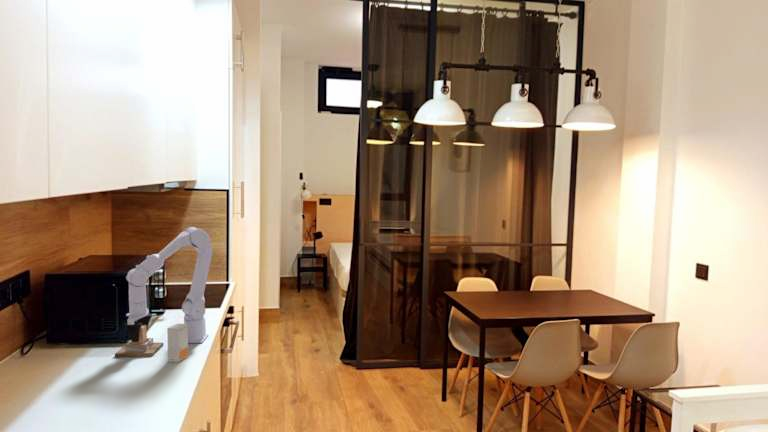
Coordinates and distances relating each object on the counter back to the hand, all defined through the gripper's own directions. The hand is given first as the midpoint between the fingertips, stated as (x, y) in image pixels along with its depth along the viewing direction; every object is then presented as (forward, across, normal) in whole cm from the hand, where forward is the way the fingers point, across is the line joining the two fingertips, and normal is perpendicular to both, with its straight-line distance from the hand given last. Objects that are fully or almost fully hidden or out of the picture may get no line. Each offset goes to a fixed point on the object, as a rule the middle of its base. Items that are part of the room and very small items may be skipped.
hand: (139, 338), depth 188 cm
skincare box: (+5, +9, +16) cm, 19 cm away
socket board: (+5, 0, 0) cm, 5 cm away
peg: (+4, 0, 0) cm, 4 cm away
